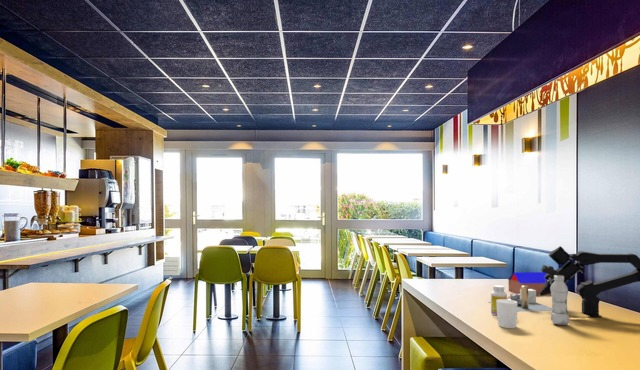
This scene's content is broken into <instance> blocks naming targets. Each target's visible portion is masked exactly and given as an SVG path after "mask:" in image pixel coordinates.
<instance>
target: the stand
mask: <svg viewBox="0 0 640 370" xmlns="http://www.w3.org/2000/svg"><path fill="white" fill-rule="evenodd" d="M519 295H520V299H521V289H520V294H519ZM488 303H489V304H491V301H488ZM528 307H529V308H522V307H521V305H517V313H518V312H552V307H550V306H547V305H544V304H541V303H538V302H537V295H536V290H533V289H528Z"/></svg>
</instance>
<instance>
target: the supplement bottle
mask: <svg viewBox="0 0 640 370" xmlns="http://www.w3.org/2000/svg"><path fill="white" fill-rule="evenodd" d="M492 289H493V290H492V291H491V292H490V302H491V303H490V314H491V315H492V316H494V317H497V303H496V300H498V299H507V297H508V296H507V295H508V294H507V292H506V291H505V286H504V285H497V284H496V285H493V286H492Z"/></svg>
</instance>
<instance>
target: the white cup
mask: <svg viewBox="0 0 640 370" xmlns="http://www.w3.org/2000/svg"><path fill="white" fill-rule="evenodd" d="M496 303H497V314H496V315H497V316H496V317H497V326H498V327H500V326H501V328H504V329H505V328H506V329H516V328H517V321H518V312H517V301H514V300H508V299H498V300H496Z"/></svg>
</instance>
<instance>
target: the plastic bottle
mask: <svg viewBox="0 0 640 370" xmlns="http://www.w3.org/2000/svg"><path fill="white" fill-rule="evenodd" d="M554 280H555V281H554V282H553V283H552V285H551V287H550V290H551V295H550V297H551V303H552V304H551V308H552V311H551V314H550V320H551V322H552V324H554V325H558V326H567V325H568V324H569V322H570V317H569V311H568V294H569V293H568V292H569V287H568V286H567V284H566V283H564V276H562V275H554Z"/></svg>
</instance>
